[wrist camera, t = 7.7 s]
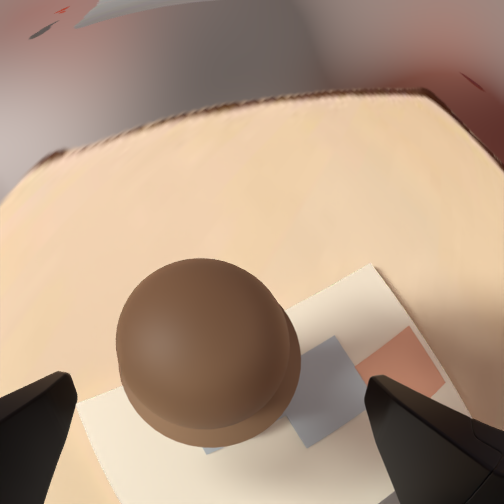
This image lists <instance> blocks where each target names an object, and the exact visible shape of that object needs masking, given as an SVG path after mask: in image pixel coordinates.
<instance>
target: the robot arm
mask: <svg viewBox="0 0 504 504" xmlns="http://www.w3.org/2000/svg"><path fill="white" fill-rule="evenodd" d="M76 403H77V392H76V389H75V386H74V383H73V381H72V378H71V375H70V374H69V373H66V372H61V371H57V372H55V373H53V374H50V375H48V376H46V377H44V378H42V379H40V380H38V381H36V382H34V383H31V384H29V385H27V386H25V387H23V388H21V389H18V390H16V391H14V392H12V393H10V394H8V395H5V396H3V397H1V398H0V504H44V501H45V498H46V495H47V492H48V489H49V486H50V483H51V480H52V477H53V474H54V471H55V468H56V465H57V463H58V460H59V457H60V454H61V452H62V449H63V447H64V444H65V441H66V438H67V435H68V432H69V428H70V424H71V420H72V417H73V413H74V410H75V406H76ZM364 404H365V408H366V411H367V414H368V418H369V421H370V425H371V429H372V432H373V436H374V439H375V443H376V445H377V448H378V450H379V453H380V455H381V458H382V460H383V463H384V465H385V467H386V470H387V472H388V475H389V477H390V480H391V482H392V485H393V487H394V490H395V492H396V495H397V498H398V500H399V503H400V504H504V431H502V430H499V429H496V428H494V427H491V426H489V425H487V424H484V423H482V422H480V421H478V420H475V419H473V418H472V419H471V417H469V416H467V415H464V414H462V413H460V412H458V411H456V410H454V409H452V408H450V407H448V406H445V405H443V404H441V403H439V402H437V401H435V400H433V399H431V398H429V397H427V396H425V395H423V394H421V393H419V392H417V391H415V390H413V389H411V388H409V387H407V386H405V385H403V384H401V383H399V382H397V381H395V380H393V379H391V378H389V377H387V376H386V375H375V376H371V377H370V379H369V381H368V385H367V389H366V393H365V396H364Z"/></svg>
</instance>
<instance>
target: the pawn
mask: <svg viewBox="0 0 504 504" xmlns="http://www.w3.org/2000/svg"><path fill="white" fill-rule="evenodd" d="M116 351H117V357H118V363H119V372H120V378H121V382H122V385H123V388H124V391H125V393H126V395H127V397H128V399H129V401H130V403H131V405H132V406H133V408H134V409H135V410H136V412H137V413H138V414H139V415H140V417H141V418H142V419H143V420H144V421H145V422H146V423H147V424H149V425H150V426H151V427H152V428H153V429H154V430H156V431H158V432H159V433H161V434H162V435H164V436H166V437H168V438H170V439H172V440H174V441H176V442H179V443H183V444H186V445H190V446H196V447H203V448H217V447H226V446H231V445H235V444H239V443H242V442H244V441H247V440H249V439H251V438H253V437H255V436H257V435H258V434H260V433H262V432H263V431H265V430H266V429H267V428H269V427H270V426H271V425H272V424H274V422H275V421H276V420H277V419H278V418H279V417H280V416H281V415H282V414H283V412H284V411H285V410H286V408H287V407H288V405H289V404H290V402H291V400H292V398H293V396H294V394H295V391H296V388H297V385H298V382H299V377H300V371H301V352H300V345H299V341H298V336H297V334H296V331H295V328H294V326H293V324H292V322H291V320H290V318H289V317H288V315H287V314H286V312H285V311H284V309H283V308H282V307H281V306H280V305H279V303H278V302H277V301H276V299H275V298H274V296H273V295H272V294H271V292H270V291H269V290H268V289H267V287H266V286H265V285H264V284H263V283H262V282H261V281H259V280H258V279H257V278H256V277H255V276H253V275H252V274H250V273H249V272H247V271H245V270H243V269H241V268H239V267H237V266H235V265H233V264H230V263H227V262H224V261H219V260H215V259H205V258H199V259H187V260H182V261H178V262H174V263H172V264H169V265H166V266H164V267H162V268H160V269H158V270H156V271H155V272H153V273H152V274H150V275H149V276H148V277H146V278H145V279H144V280H143V281H142V282H141V283H140V284H139V285H138V286H137V287H136V288H135V289H134V291H133V292H132V293H131V295H130V296H129V298H128V300H127V301H126V303H125V305H124V307H123V310H122V312H121V315H120V318H119V322H118V326H117V332H116Z"/></svg>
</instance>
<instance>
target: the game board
mask: <svg viewBox="0 0 504 504" xmlns="http://www.w3.org/2000/svg"><path fill="white" fill-rule="evenodd" d="M284 311H285V312H286V314H287V315H288V317H289V318H290V320H291V322H292V324H293V326H294V328H295V331H296V334H297V336H298V341H299V345H300V352H301V371H300V377H299V382H298V385H297V388H296V391H295V394H294V396H293V398H292V400H291V402H290V404H289V405H288V407H287V408H286V410H285V411H284V412H283V414H282V415H281V416H280V417H279V418H278V419H277V420H276V421H275V422H274V424H272V425H271V426H270V427H269V428H267V429H266V430H265V431H263V432H262V433H260V434H258V435H257V436H255V437H253V438H251V439H249V440H247V441H244V442H242V443H239V444H235V445H231V446H226V447H217V448H203V447H196V446H190V445H186V444H183V443H179V442H176V441H174V440H172V439H170V438H168V437H166V436H164V435H162V434H161V433H159V432H158V431H156V430H154V429H153V428H152V427H151V426H150V425H149V424H147V423H146V422H145V421H144V420H143V419H142V418H141V417H140V415H139V414H138V413H137V412H136V410H135V409H134V408H133V406H132V405H131V403H130V401H129V399H128V397H127V395H126V393H125V391H124V388H123V386H120V387H118V388H115V389H113V390H110V391H108V392H105V393H103V394H100V395H97V396H95V397H92V398H89V399H87V400H84V401H81V402H79V403H76V407H77V410H78V413H79V416H80V418H81V421H82V423H83V426H84V428H85V431H86V433H87V436H88V438H89V441H90V443H91V445H92V448H93V450H94V452H95V454H96V456H97V459H98V461H99V463H100V465H101V467H102V469H103V471H104V473H105V475H106V477H107V479H108V481H109V483H110V485H111V487H112V489H113V490H114V492H115V494H116V496H117V498H118V499H119V501H120V503H121V504H400V503H399V500H398V498H397V495H396V492H395V490H394V487H393V485H392V482H391V480H390V477H389V475H388V472H387V470H386V467H385V465H384V463H383V460H382V458H381V455H380V453H379V450H378V448H377V445H376V443H375V439H374V436H373V432H372V429H371V425H370V421H369V418H368V414H367V411H366V408H365V404H364V396H365V393H366V389H367V385H368V381H369V379H370V377H371V376H375V375H386V376H387V377H389V378H391V379H393V380H395V381H397V382H399V383H401V384H403V385H405V386H407V387H409V388H411V389H413V390H415V391H417V392H419V393H421V394H423V395H425V396H427V397H429V398H431V399H433V400H435V401H437V402H439V403H441V404H443V405H445V406H448V407H450V408H452V409H454V410H456V411H458V412H460V413H462V414H464V415H467V416H469V417H471V415H470V413H469V411H468V409H467V408H466V406H465V404H464V402H463V400H462V399H461V397H460V395H459V393H458V392H457V390H456V388H455V387H454V385H453V383H452V382H451V380H450V378H449V377H448V375H447V373H446V372H445V370H444V368H443V367H442V365H441V364H440V362H439V360H438V359H437V357H436V356H435V354H434V353H433V351H432V349H431V348H430V346H429V345H428V343H427V342H426V340H425V339H424V337H423V336H422V334H421V333H420V331H419V330H418V328H417V327H416V325H415V324H414V322H413V321H412V319H411V318H410V316H409V315H408V314H407V312H406V311H405V309H404V308H403V306H402V305H401V304H400V302H399V301H398V299H397V298H396V297H395V295H394V294H393V292H392V291H391V290H390V288H389V287H388V286H387V284H386V283H385V281H384V280H383V279H382V277H381V276H380V275H379V273H378V272H377V271H376V269H375V268H374V267H373V265H372V264H371V263H369V264H367V265H366V266H364V267H362V268H360V269H359V270H357V271H355V272H354V273H352V274H350V275H348V276H347V277H345V278H343V279H341V280H340V281H338V282H336V283H334V284H332V285H331V286H329V287H327V288H325V289H323V290H322V291H320V292H318V293H316V294H314V295H313V296H311V297H309V298H307V299H305V300H303V301H301V302H300V303H298V304H296V305H294V306H292V307H290V308H288V309H286V310H284ZM471 419H472V417H471Z"/></svg>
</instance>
